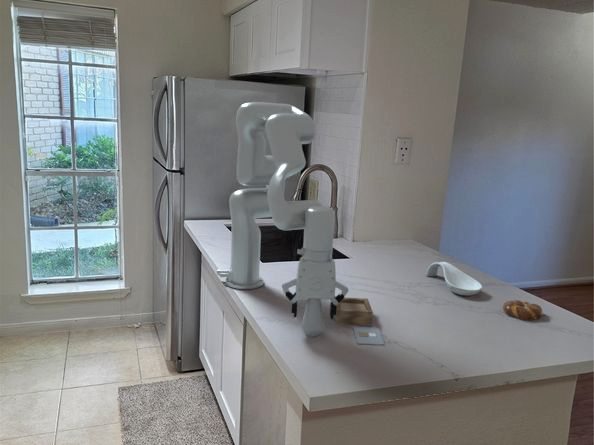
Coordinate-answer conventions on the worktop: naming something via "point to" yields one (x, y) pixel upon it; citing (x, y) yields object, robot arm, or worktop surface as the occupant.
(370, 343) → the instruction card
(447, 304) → the worktop surface
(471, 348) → the worktop surface
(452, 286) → the spoon rest
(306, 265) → the robot arm
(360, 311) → the wooden crate
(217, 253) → the worktop surface
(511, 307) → the pretzel
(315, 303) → the salt shaker
